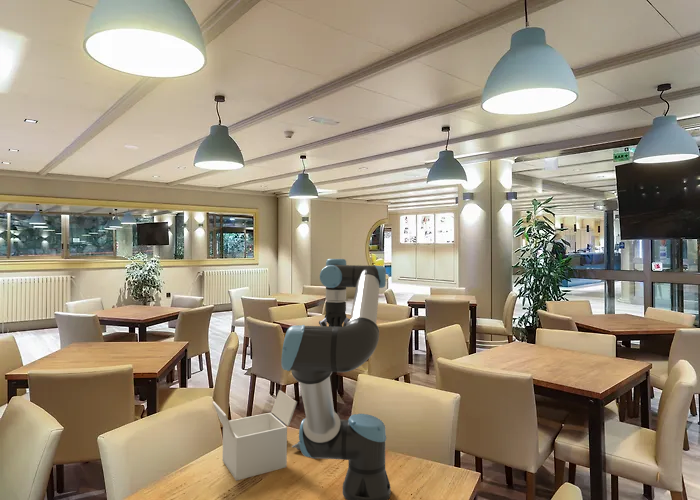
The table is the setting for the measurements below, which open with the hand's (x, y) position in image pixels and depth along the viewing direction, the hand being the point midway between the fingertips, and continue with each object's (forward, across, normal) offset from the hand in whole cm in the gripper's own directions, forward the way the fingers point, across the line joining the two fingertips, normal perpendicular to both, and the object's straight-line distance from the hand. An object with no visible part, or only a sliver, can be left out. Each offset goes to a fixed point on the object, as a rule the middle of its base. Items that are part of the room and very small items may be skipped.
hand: (335, 365), depth 159 cm
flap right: (+16, +15, -12) cm, 25 cm away
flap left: (+16, +37, -12) cm, 42 cm away
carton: (+34, +26, -12) cm, 45 cm away
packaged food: (+35, +4, -11) cm, 37 cm away
